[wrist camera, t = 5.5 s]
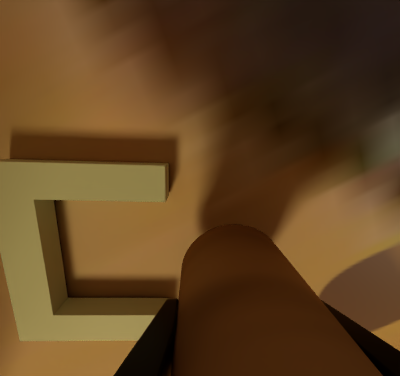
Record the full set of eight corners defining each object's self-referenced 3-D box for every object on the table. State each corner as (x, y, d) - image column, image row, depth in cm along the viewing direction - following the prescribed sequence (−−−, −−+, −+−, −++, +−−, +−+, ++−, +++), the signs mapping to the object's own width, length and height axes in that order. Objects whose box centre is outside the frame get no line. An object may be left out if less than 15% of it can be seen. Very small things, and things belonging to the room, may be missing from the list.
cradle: (169, 321, 12) (166, 340, 11) (37, 321, 12) (20, 341, 10) (168, 163, 10) (165, 165, 8) (6, 158, 9) (-21, 161, 8)
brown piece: (275, 313, 10) (473, 717, 3) (181, 313, 9) (148, 742, 3) (287, 225, 9) (646, 529, 2) (181, 223, 8) (131, 552, 2)
